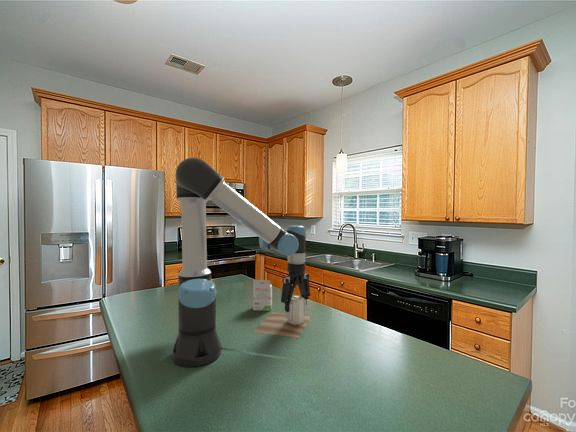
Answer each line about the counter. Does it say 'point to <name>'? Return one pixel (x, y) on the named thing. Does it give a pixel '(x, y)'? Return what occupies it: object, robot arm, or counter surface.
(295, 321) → the lidded container
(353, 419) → the counter surface
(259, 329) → the board
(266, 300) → the ink box
